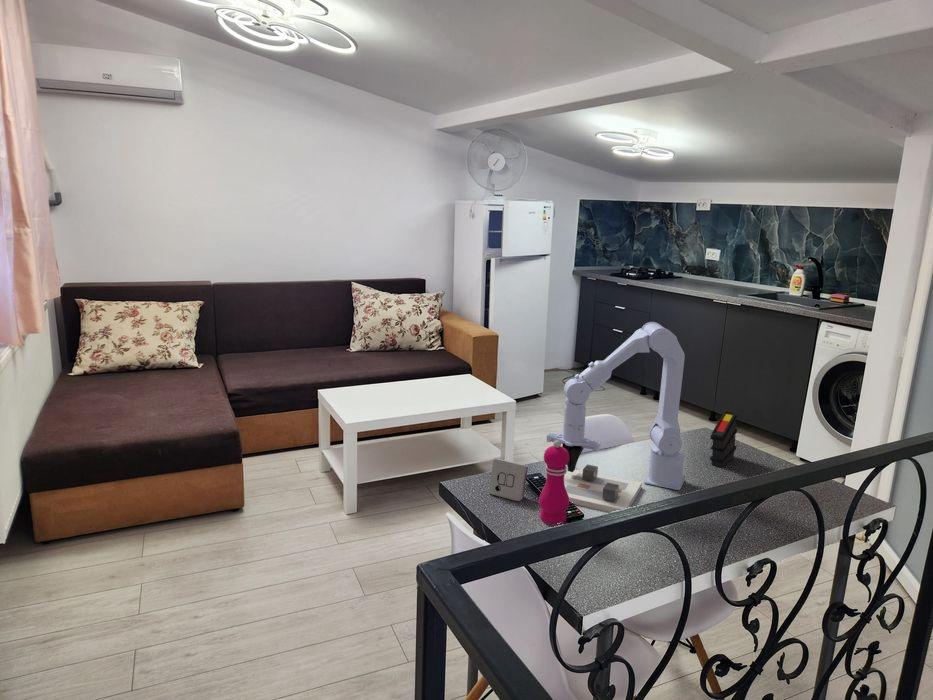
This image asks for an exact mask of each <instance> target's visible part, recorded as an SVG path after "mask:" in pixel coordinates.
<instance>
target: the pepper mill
mask: <svg viewBox="0 0 933 700" xmlns="http://www.w3.org/2000/svg"><path fill="white" fill-rule="evenodd" d="M552 444H553V445H551V446H549V447H547V448H546V450H545V451H544V452H543V460H544V463H545V465H544V466H545V468H544V469H545V470H544V472H545V473H546V480H545V484H544V486H543V488H542V489H541V491H540V495H539V498H538V504H539V506H540V508H541V510H540V513H539V514H540V516H539V517H540V520H541V521H542V522H543V523H545V524H548V525H553V524H557V523H560V522H564V521H565V522H566V521H567V517H568V516H567V510H568V509H569V507H570V503H569V497H568V494H567V491H566V488H565V485H564V474H566V472H567V470H568V467H567V464H568V462H569V453H568V451H567V450H566V449H565V448H564V447H562V444H561V442H560V441H558V440H556V441H554V442H552ZM565 522H564V523H565ZM561 524H563V523H560V524H559V525H561ZM557 525H558V524H557Z"/></svg>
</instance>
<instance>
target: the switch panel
mask: <svg viewBox="0 0 933 700" xmlns="http://www.w3.org/2000/svg"><path fill="white" fill-rule="evenodd" d="M582 475H583V469H582V470H581V469H576V468H575V470H574V472H569V471H568V470H566V474H564V485H565V488H566V491H567V494H568V497H569V500H570V501H571V502H573V503H574V504H573V505H577V506H582V507H586V508H590V509H594V510H599V511H603V512H607V513H611V512H612V511H616V510H621V509H625V508H628V507H630V508H631V507H632V505H633V503H634V502H635V499H636V498H637V497H638V495H639V492H640V491H641V490H642V486H643V483H642V482H641V481H640V482H639V481H635V480H630V479H625V478H620V477H615V476H610V475H606V474H599V473H598V474H597V477H596V478H595V480H594V481H588V480H583V479H582ZM607 483H612V484H617V485H619V492H618V496H617V498H616V499H615V501H610V500H606V499H602V497H603V488H604V487H605V485H606V484H607Z"/></svg>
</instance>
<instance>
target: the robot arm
mask: <svg viewBox="0 0 933 700" xmlns="http://www.w3.org/2000/svg"><path fill="white" fill-rule="evenodd" d="M650 349H651V350H653V351H654V352H656V353H658V354H659V355H660V357H662V359H663V364H662V373H661V382H660V391H659V399H658V400H659V402H658V408H657V415H655V417H654V419H653V420H654V421H653V424H652V426H651V428H650V430H649V438H650V440H651V441H652V444H651V447H650V455H649V466H648V475H647V476H646V478H645V480H644V484H647V485H651V486H657V487H661V488H666V489H670V490H671V489H672V490H676V491H680V490H681V489H682V487H683V485H684V483H685V478H686V466H687V454H683V453H682V452H680V451H681V450H682V448H683V439H682V438H681V426H680V423H679V418H678V417H679V410H680V409H679V408H680V400H681V394H682V393H681V392H682V386H683V385H682V384H683V376H684V375H683V374H684V367H685V366H684V365H685V358H686V356H685V352H684V350H683V348H682V346H681V344H680V343H679V341H678V337H677V335H675V334H674V333H673V332H672V331H671V330H670V329H668V328H665V327H664V326H663V325H661V324H660V323H658V322H655V321H649V322H646V323H645V324H643V326H642V327H641V328H639V329H637V330H635V331H634V333H633V334H632V335H630V337H628V338H627V339H626V340H625V341H624V342H623V343H621V345H620V346H618V347H617V348H616V349H615V350H614V351H613V352H612V353H610V355H607V356H606V358H605V359H603V360H595V361H594V362H593V361H591V362H590V363H589V362H588V367H587V368H585V369H584V370H583V371H581V372H580V374H575V375H574V377H573V378H570V379H568V380H567V381H566V382H565V384H564V386H563V387H562V390H563V393H564V395H565V399H564V407H563V409H564V410H563V426H562V427H563V428H562V429H563V430H562V433H561V434H560V433H550V432H549V433H548V434H547V435H546V442H547V443H554V441H556V440H558V441H560V442H561V447H564V448H565V449H566V450H567V451H568V453H569V462H568V464H567V465H566V467H567V471H569V472H574V470H575V469H576V466H577V464H578V460H579V458H580V456H581V453H582V452H583V451H584V449H589V450H594V451H595V452H599V451H600V450H601V442H600V441H595V440H593V439H589V438H587V437H585V431H586V412H587V408H586V405H587V401H588V400H589V398H590V394H591V393H592V392H594V391H595V390H596V389H598V388H599V387H600V386H602V385H603V384H604V383H606V382H607V381H608V380H609V379H611V377H612V372H613V370H614V369H616V368H617V367H619V366H620V365H621V364H623V363H624V362H626V361H627V360H628V359H630V358H631V357H633V356H635V354H637V353H650V351H651V350H650Z"/></svg>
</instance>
